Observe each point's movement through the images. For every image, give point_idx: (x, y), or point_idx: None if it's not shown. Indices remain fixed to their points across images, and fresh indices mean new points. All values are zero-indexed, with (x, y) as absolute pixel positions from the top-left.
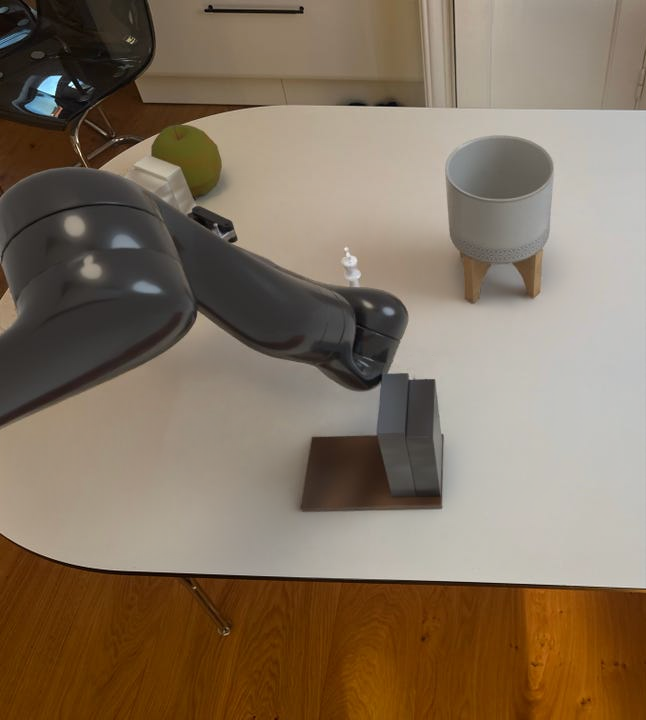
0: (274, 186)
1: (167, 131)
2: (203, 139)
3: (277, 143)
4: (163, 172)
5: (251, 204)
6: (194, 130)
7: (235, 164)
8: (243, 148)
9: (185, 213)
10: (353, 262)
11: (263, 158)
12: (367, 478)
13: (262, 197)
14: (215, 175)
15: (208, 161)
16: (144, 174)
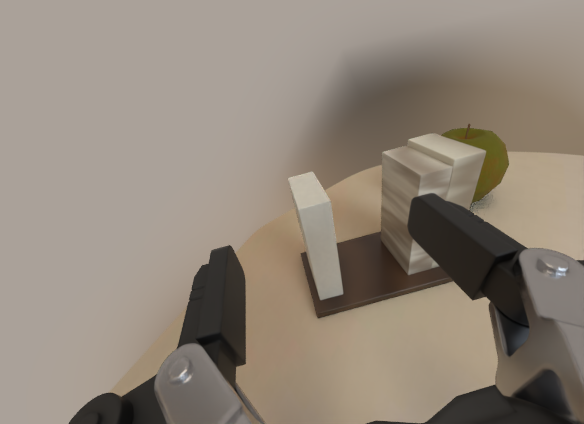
0: (572, 227)
1: (455, 131)
2: (500, 144)
3: (574, 179)
4: (451, 152)
5: (527, 237)
6: (492, 133)
7: (505, 187)
8: (518, 175)
9: (573, 260)
10: None
11: (549, 190)
12: None
13: (548, 234)
14: (489, 189)
15: (494, 170)
16: (417, 152)
